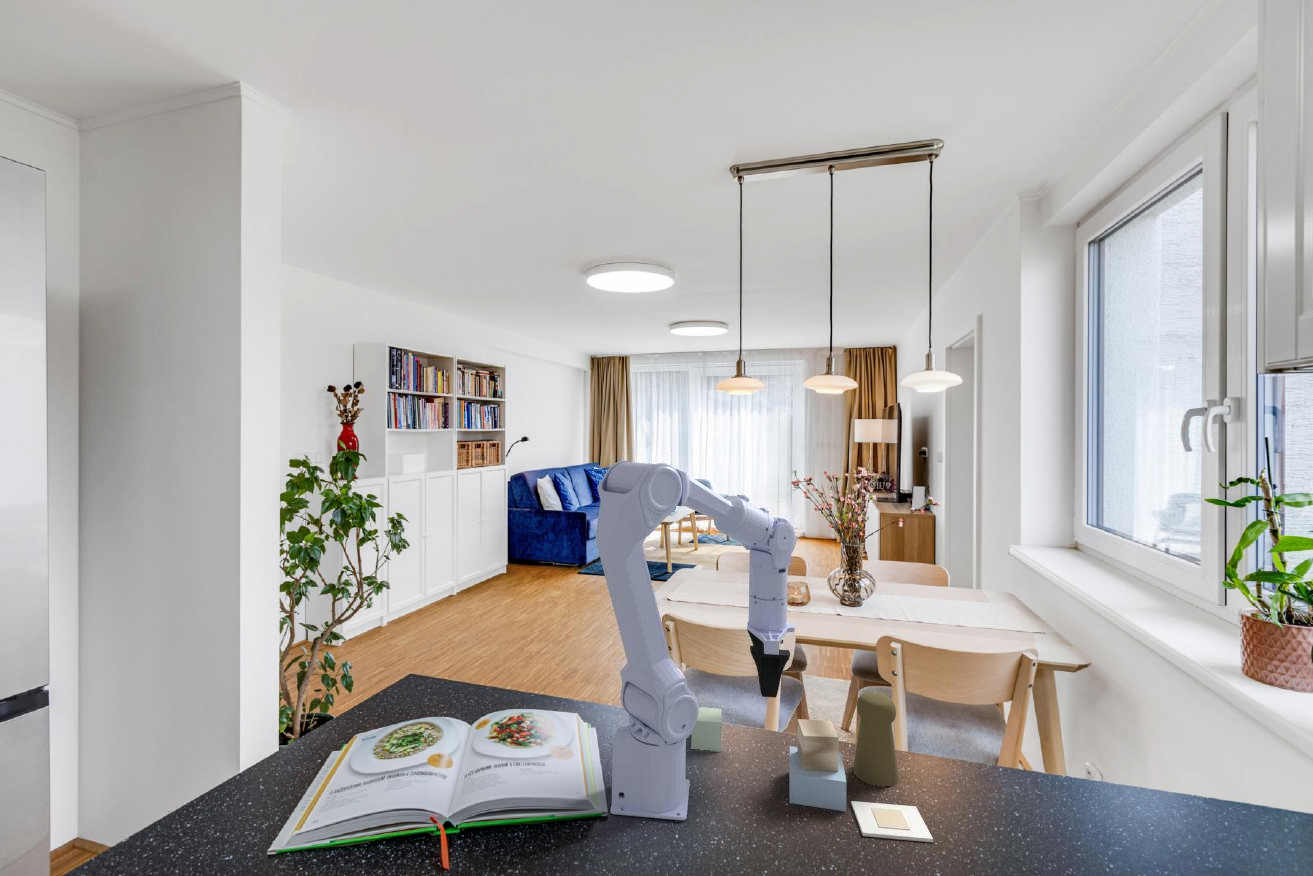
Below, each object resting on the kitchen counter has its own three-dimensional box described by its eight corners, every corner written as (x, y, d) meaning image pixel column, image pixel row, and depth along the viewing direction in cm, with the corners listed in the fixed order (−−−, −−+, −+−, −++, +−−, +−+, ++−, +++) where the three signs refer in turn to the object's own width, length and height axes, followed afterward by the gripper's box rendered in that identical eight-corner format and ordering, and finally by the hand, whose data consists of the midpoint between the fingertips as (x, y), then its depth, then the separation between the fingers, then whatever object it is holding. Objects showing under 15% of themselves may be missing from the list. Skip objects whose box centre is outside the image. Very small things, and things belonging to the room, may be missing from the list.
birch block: (803, 770, 74) (803, 735, 74) (797, 751, 79) (797, 719, 79) (838, 771, 74) (838, 737, 74) (830, 753, 79) (830, 720, 79)
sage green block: (691, 750, 86) (691, 720, 86) (692, 735, 90) (693, 706, 90) (721, 752, 85) (721, 722, 85) (721, 737, 90) (721, 708, 90)
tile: (862, 835, 67) (862, 831, 67) (851, 804, 73) (851, 800, 73) (933, 842, 66) (933, 838, 66) (915, 809, 72) (915, 805, 72)
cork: (903, 789, 77) (904, 708, 77) (856, 783, 78) (857, 703, 78) (893, 764, 83) (894, 689, 83) (850, 759, 84) (851, 685, 84)
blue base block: (789, 804, 73) (789, 773, 74) (789, 774, 80) (789, 746, 80) (846, 813, 72) (846, 782, 72) (841, 781, 79) (841, 752, 79)
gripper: (801, 610, 78) (800, 708, 78) (789, 584, 93) (788, 667, 93) (750, 608, 79) (748, 705, 79) (745, 582, 94) (744, 665, 94)
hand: (766, 685), depth 86 cm, fingers open, 7 cm apart
